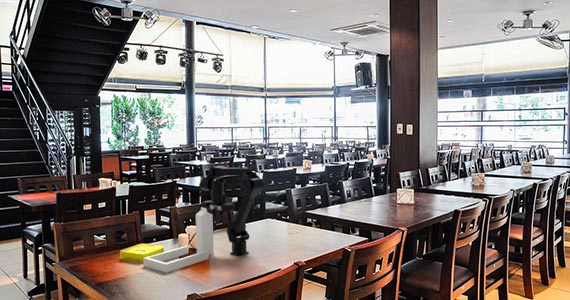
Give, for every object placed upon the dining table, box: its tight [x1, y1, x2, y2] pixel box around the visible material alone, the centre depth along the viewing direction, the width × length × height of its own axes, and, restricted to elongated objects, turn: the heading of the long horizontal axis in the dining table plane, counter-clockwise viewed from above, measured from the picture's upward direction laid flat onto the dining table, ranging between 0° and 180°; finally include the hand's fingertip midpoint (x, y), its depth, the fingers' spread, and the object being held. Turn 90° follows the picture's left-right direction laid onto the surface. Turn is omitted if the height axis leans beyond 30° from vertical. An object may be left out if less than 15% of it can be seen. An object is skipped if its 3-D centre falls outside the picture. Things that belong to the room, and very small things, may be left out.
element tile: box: [119, 243, 165, 264], centre depth 207 cm, size 15×15×5 cm
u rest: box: [143, 245, 210, 274], centre depth 197 cm, size 16×24×4 cm
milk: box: [195, 207, 214, 255], centre depth 210 cm, size 6×6×22 cm
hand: (218, 222), depth 217 cm, fingers closed
